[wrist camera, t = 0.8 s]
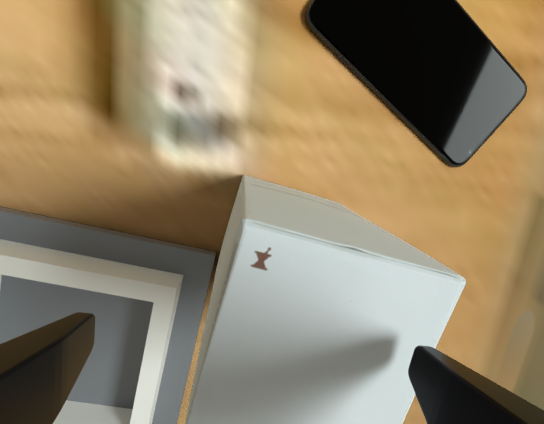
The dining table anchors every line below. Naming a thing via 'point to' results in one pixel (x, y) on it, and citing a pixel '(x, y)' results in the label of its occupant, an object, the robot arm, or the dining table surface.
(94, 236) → the dock
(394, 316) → the supplement box
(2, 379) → the robot arm
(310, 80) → the dining table surface
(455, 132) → the smartphone
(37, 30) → the dining table surface
